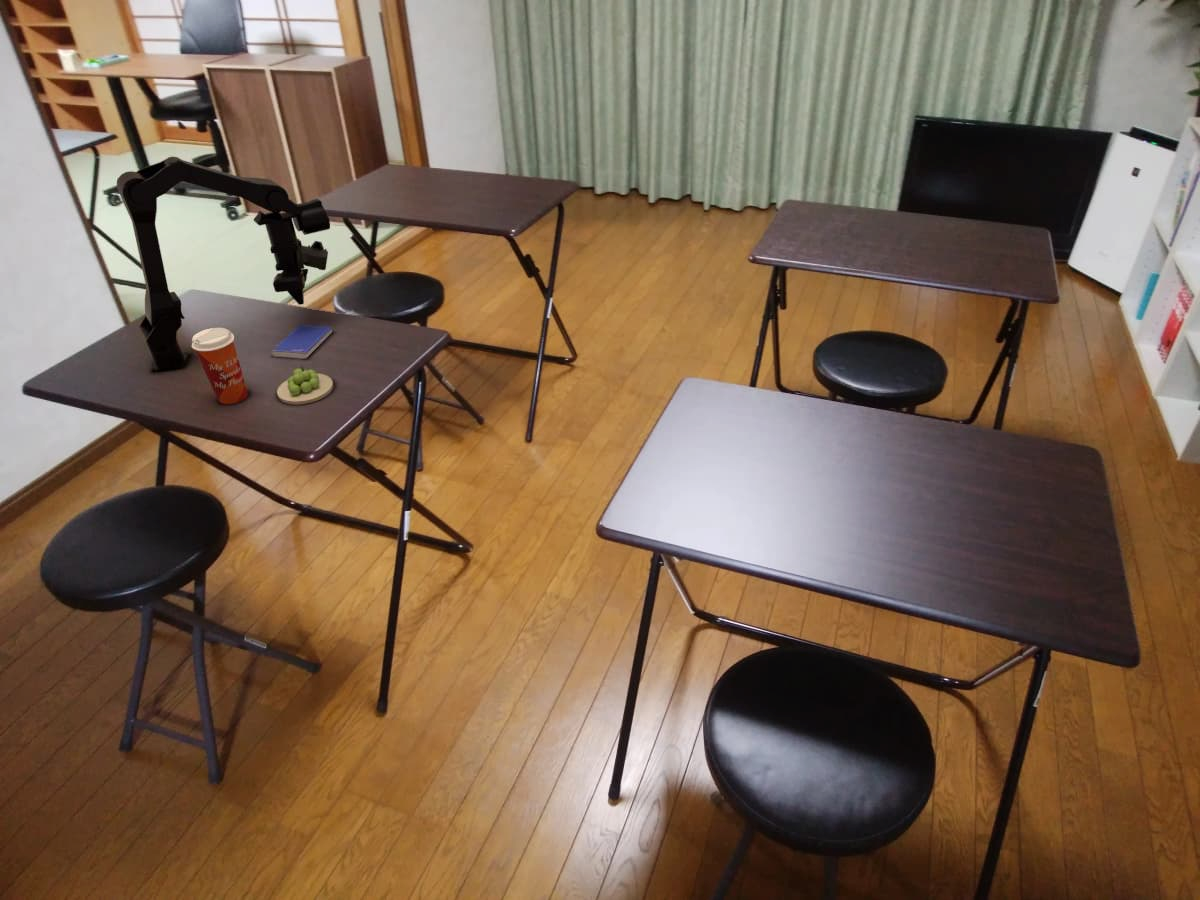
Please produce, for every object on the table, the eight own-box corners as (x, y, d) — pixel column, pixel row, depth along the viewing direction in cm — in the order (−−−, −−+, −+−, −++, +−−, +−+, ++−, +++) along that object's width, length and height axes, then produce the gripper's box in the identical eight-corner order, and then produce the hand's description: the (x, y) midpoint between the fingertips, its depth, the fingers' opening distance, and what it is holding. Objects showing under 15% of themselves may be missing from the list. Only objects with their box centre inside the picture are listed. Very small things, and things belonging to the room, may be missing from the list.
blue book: (305, 352, 166) (331, 326, 176) (270, 350, 167) (298, 324, 177) (306, 358, 167) (332, 333, 177) (272, 356, 168) (300, 330, 178)
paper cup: (226, 411, 151) (202, 348, 142) (205, 399, 154) (181, 337, 146) (261, 394, 156) (240, 332, 147) (240, 382, 159) (218, 322, 151)
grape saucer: (280, 380, 160) (279, 377, 159) (334, 373, 162) (333, 370, 161) (275, 408, 151) (274, 404, 151) (332, 400, 153) (331, 396, 153)
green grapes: (290, 379, 158) (284, 359, 155) (321, 375, 159) (315, 355, 157) (287, 398, 152) (280, 377, 150) (319, 393, 154) (313, 372, 151)
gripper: (318, 250, 163) (335, 316, 172) (323, 221, 178) (338, 284, 187) (264, 256, 161) (283, 322, 170) (273, 226, 176) (291, 289, 185)
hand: (301, 303), depth 178 cm, fingers closed
